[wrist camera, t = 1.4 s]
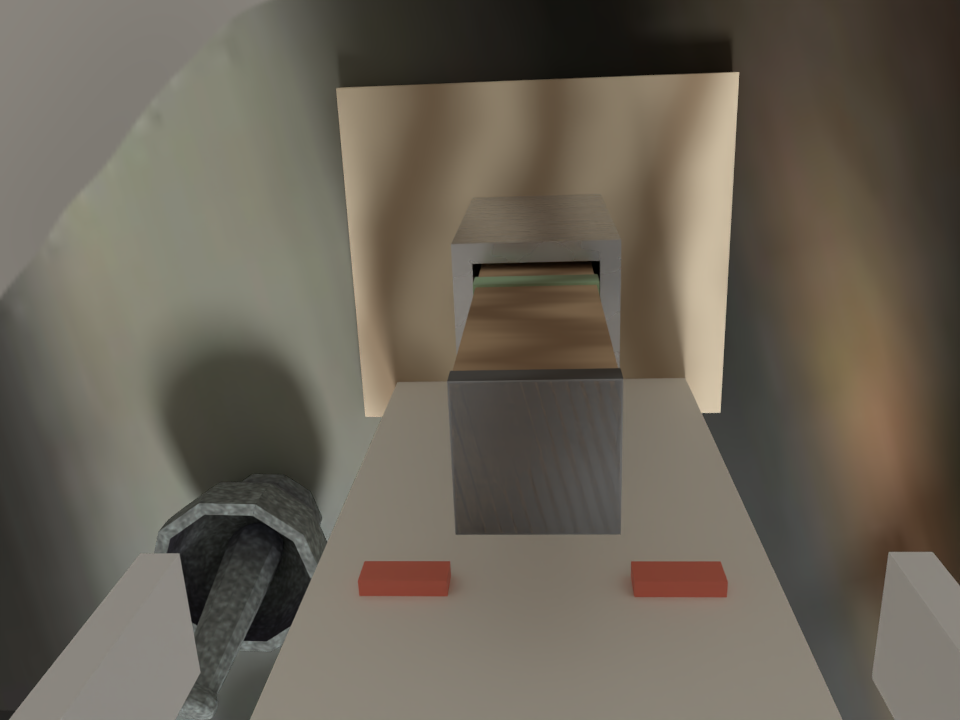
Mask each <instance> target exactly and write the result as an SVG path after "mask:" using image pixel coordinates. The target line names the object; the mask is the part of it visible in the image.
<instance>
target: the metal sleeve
mask: <svg viewBox="0 0 960 720" xmlns="http://www.w3.org/2000/svg"><path fill="white" fill-rule="evenodd" d="M451 256H452V276H453V295H454V315H455V335H456V354H457V353H458V349H459V345H460V342H461V338H462V335H463V331H464V327H465V324H466V320H467V317H468V313H469V309H470V306H471V302H472V298H473V282H474V279H475V277H479V273H480V269H481V266H482V263H523V262H564V261H591V264H592V268H593V272H594V274H597V275H598V278H599V282H600V285H599V296H600V299H601V303H602V307H603V311H604V315H605V319H606V323H607V327H608V331H609V335H610V338H611V342H612V346H613V350H614V354H615V358H616V362H617V366H618V368H620V300H621V238H620V236H619V233H618V231H617V229H616V227H615V225H614V223H613V220H612V218H611V216H610V214H609V212H608V209H607V207H606V205H605V203H604V201H603V198H602V196H601V194H580V195H546V196H513V197H480V198H473V199H472V201H471V203H470V205H469V207H468V209H467V211H466V213H465V215H464V218H463V220H462V222H461V224H460V226H459V228H458V230H457V232H456V234H455V237H454V239H453V241H452V243H451Z"/></svg>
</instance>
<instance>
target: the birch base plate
mask: <svg viewBox="0 0 960 720" xmlns="http://www.w3.org/2000/svg"><path fill="white" fill-rule="evenodd" d="M738 85H739V72H716V73H691V74H666V75H641V76H616V77H591V78H566V79H541V80H516V81H490V82H465V83H440V84H415V85H390V86H365V87H342V88H336V92H337V103H338V115H339V126H340V137H341V148H342V159H343V171H344V182H345V193H346V204H347V215H348V227H349V238H350V249H351V260H352V271H353V283H354V294H355V305H356V316H357V327H358V339H359V350H360V361H361V372H362V383H363V394H364V406H365V417H382V416H383V414H384V412H385V409H386V407H387V405H388V403H389V400H390V398H391V396H392V393H393V391H394V389H395V387H396V384H397V382H439V381H447V380H448V376H449V373H450V371H453V367H454V364H455V360H456V356H457V354H456V335H455V315H454V295H453V276H452V256H451V243H452V241H453V239H454V237H455V234H456V232H457V230H458V228H459V226H460V224H461V222H462V220H463V218H464V215H465V213H466V211H467V209H468V207H469V205H470V203H471V201H472V199H473V198H480V197H513V196H546V195H580V194H601V196H602V198H603V201H604V203H605V205H606V207H607V209H608V212H609V214H610V216H611V218H612V220H613V223H614V225H615V227H616V229H617V231H618V233H619V236H620V238H621V300H620V368H621V372H622V375H623V379H647V378H686V381H687V383H688V385H689V387H690V389H691V391H692V394H693V396H694V398H695V400H696V402H697V404H698V407H699V409H700V411H701V413H720V410H721V392H722V373H723V355H724V337H725V319H726V301H727V283H728V265H729V247H730V229H731V211H732V193H733V175H734V157H735V139H736V121H737V103H738Z"/></svg>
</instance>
